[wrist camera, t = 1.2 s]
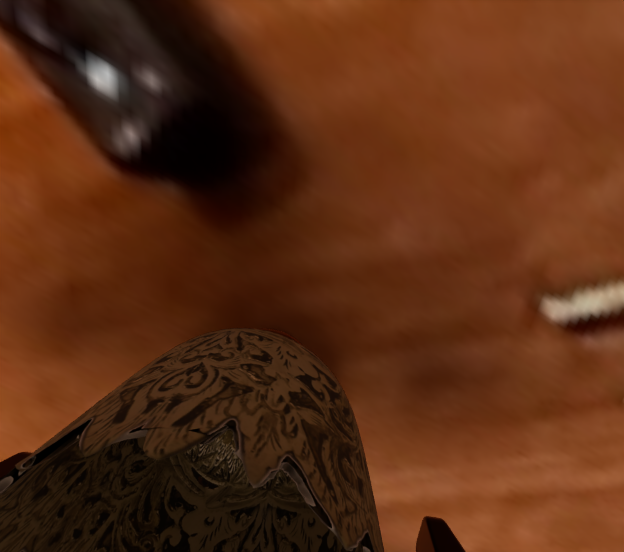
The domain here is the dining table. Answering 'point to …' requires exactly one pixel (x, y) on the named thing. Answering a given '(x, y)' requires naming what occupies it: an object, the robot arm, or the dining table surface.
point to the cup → (203, 460)
